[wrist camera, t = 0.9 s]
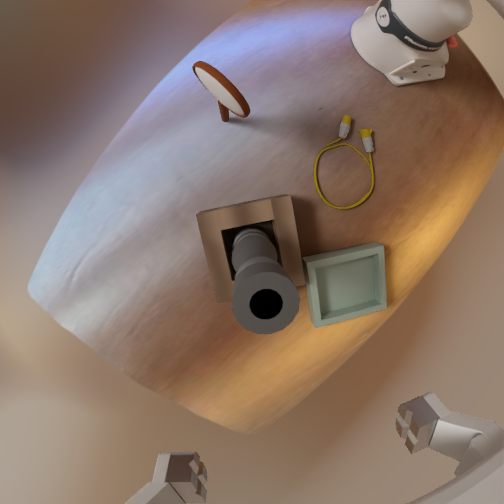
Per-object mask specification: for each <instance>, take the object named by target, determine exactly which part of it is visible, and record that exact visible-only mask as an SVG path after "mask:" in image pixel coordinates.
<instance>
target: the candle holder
mask: <svg viewBox="0 0 504 504" xmlns="http://www.w3.org/2000/svg"><path fill="white" fill-rule="evenodd" d="M232 264H233V266H234V269H235V271H236V272H237V273H236V275H235V281H234V284H233V299H232V310H233V313H234V315H235V317H236V320H237V321H238V322H239V323H240V324H241V325H242V326H243V327H244V328H245V329H247V330H249V331H252V332H254V333H257V334H271V333H274V332H277V331H280V330H283V329H284V328H285V327H286V326H288V325H289V324H290V323H291V322H292V321H293V320H294V318H295V316H296V314H297V313H298V311H299V302H300V298H299V295H298V291H297V288H296V286H295V284H294V283H293V281H292V279H291V277H290V276H289V275H288V274H287V272H286V271H285V270H284V269H283V268H282V267H281V266H280V265H279V264H278V262H277V252H276V249H275V247H274V245H273V244H272V243H271V241H270V238H269V237H268V235H267V234H266V233H265V232H264V230H263V229H261V228H259V227H256V226H246V227H244V228H241V229H240V230H239V231H238V232H237V233H236V234H235V236H234V238H233V244H232Z"/></svg>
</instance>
